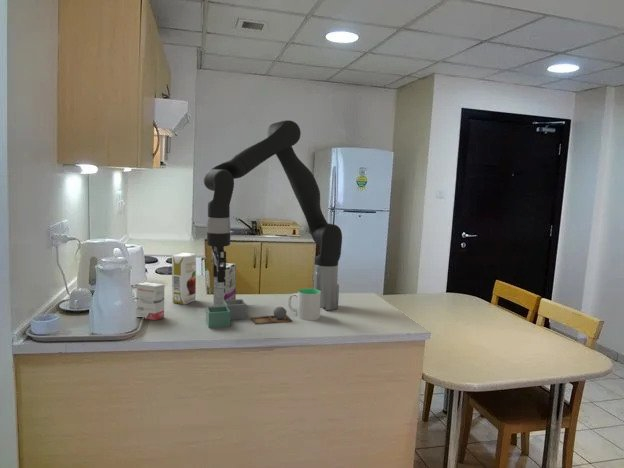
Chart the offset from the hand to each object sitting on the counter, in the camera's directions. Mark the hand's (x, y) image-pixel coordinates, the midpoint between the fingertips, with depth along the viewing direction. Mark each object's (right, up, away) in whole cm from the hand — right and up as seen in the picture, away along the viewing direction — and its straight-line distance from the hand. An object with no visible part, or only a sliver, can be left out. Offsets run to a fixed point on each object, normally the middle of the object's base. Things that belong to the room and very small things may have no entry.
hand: (218, 279), depth 158 cm
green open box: (-1, -16, +2) cm, 16 cm away
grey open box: (+3, -15, +11) cm, 19 cm away
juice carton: (-20, -12, +31) cm, 39 cm away
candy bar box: (-3, -13, +25) cm, 28 cm away
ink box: (-26, -14, +10) cm, 31 cm away
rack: (+17, -16, +8) cm, 24 cm away
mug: (+28, -16, +15) cm, 35 cm away
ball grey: (+20, -15, +9) cm, 26 cm away
